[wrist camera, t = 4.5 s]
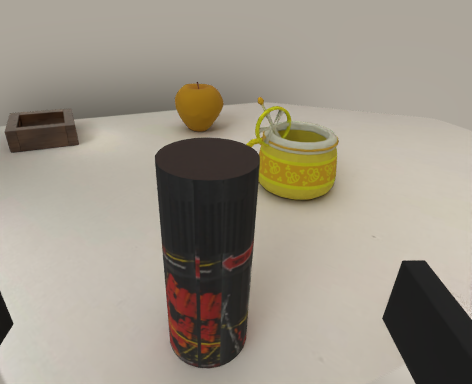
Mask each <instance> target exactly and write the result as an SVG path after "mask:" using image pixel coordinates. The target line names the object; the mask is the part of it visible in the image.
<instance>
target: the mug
mask: <svg viewBox="0 0 472 384" xmlns="http://www.w3.org/2000/svg"><path fill="white" fill-rule="evenodd" d="M263 102H264V100H263V99H262V98H261V97H260V98H258V103H259V104H260V105H262V107H263V110H264V112H263V114H262V115H261V116H260V117H259V119H258V121H257V124H256V129H255V133H256V137H257V138H256V139H252V140H250V141H249V142H248V143H247V144H246V145H248V146H250V147H252V146H253V145H254V144H258V143H259V144H260V145H261V148H260V152H259V156H260V168H259V180H258V181H259V183H260V184H261V185H262V186H263V187H264V188H265V189H266V190H267V191H269V192H271V193H273V194H276V195H278V196H280V197H284V198H290V199H312V198H316V197H319V196H322V195H324V194H326V193H327V192H328V191H329V190H330V189H331V187H332V186H333V184H334V181H335V177H336V165H337V149H336V146H337V145H338V142H339V141H338V137H337V136H336V135H335V134H334V133H333V131H331V130H329V129H328V128H325V127H323V126H320V125H318V124H313V123H308V122H299V121H291V117H290V114H289V112H288V111H287V110H286V109H284V108H282V107H279V106H275V107H271V108H269V109H267V110H266V109H265V107H264V104H263ZM277 109H278V110H279V112H278V115H277V117H276V119H275V122H276V120H277V118H278V117H279V118H278V121H279V119H280V118H281V116H282V114H283V113H284V112H285V114H286V116H287V121H286V122H280V123H278V121H277V123H275V122H274V123H275V124H273V122H272V119H271V117H270V114H269V113H270V112H271V111H273V110H277ZM279 115H280V116H279ZM265 116H266V117H267V119H268V121H269V123H270V126H269V127H263V128H260V124H261V122H262V120H263V118H264V117H265ZM263 131H264V132H263ZM260 132H263V137H262V138H260V135H259V133H260Z"/></svg>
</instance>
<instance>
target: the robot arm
mask: <svg viewBox="0 0 472 384" xmlns="http://www.w3.org/2000/svg"><path fill="white" fill-rule="evenodd" d="M382 319H383V321H384V323H385V325H386V327H387V329H388V331H389V333H390V335H391V337H392V338H393V340H394V342H395V344H396V346H397V348H398V350H399V352H400V354H401V356H402V358H403V360H404V362H405V364H406V366H407V368H408V370H409V372H410V374H411V376H412V378H413V379H414V381H415V383H416V384H472V320H471V318H470V317H469V316H468V315H467V313H466V312H465V311H464V309H463V308H462V307H461V306H460V304H459V303H458V302H457V301H456V299H455V298H454V297H453V295H452V294H451V293H450V292H449V290H448V289H447V288H446V287H445V285H444V284H443V283H442V282H441V280H440V279H439V278H438V276H437V275H436V274H435V273H434V271H433V270H432V269H431V268H430V266H429V265H428V264H427V262H426V261H402V263H401V266H400V269H399V272H398V275H397V278H396V281H395V284H394V286H393V289H392V292H391V295H390V298H389V301H388V304H387V307H386V309H385V312H384V315H383V318H382ZM12 326H13V321H12V319H11V316H10V314H9V312H8V309H7V307H6V304H5V302H4V299H3V297H2V295H1V292H0V345H1V343H2V342H3V340H4V338H5V337H6V335H7V334H8V332H9V330H10V329H11V327H12Z"/></svg>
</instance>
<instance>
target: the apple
mask: <svg viewBox="0 0 472 384" xmlns="http://www.w3.org/2000/svg"><path fill="white" fill-rule="evenodd" d="M175 104H176V109H177V111H178V113H179V116H180V117H181V119H182V120H183V122H184V123H185V124H186V126H187V127H188V128H189V129H191V130H193V131H206V130H207V129H208V128H210V127H211V125H212V124H213V123H214V121H215V120H216V119H217V117H218V116H219V114H220V112H221V110H222V107H223V99H222V97H221V95H220V93H219V92H218V91H217V89H216V88H214V87H213V86H211V85H206V84H198V82H197V84H186V85H184V86H183V87H182V88H181V89H180V90H179V91H178V92H177V95H176V97H175Z"/></svg>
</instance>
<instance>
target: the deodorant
mask: <svg viewBox="0 0 472 384" xmlns="http://www.w3.org/2000/svg"><path fill="white" fill-rule="evenodd" d="M155 166H156V177H157V189H158V201H159V213H160V225H161V237H162V249H163V261H164V273H165V285H166V296H167V308H168V320H169V332H170V343H171V346H172V348H173V351H174V352H175V353H176V355H177V356H178V357H179V358H180V359H181V360H183V361H184V362H186V363H187V364H190V365H192V366H195V367H200V368H212V367H218V366H221V365H224V364H226V363H228V362H230V361H231V360H232V359H234V358H235V357H236V356H237V355H238V354H239V353H240V351H241V350H242V348H243V346H244V343H245V340H246V331H247V318H248V306H249V293H250V281H251V268H252V256H253V243H254V230H255V218H256V205H257V193H258V180H259V168H260V156H259V154H258V153H257V151H255V150H254V149H253V148H251V147H250V146H248V145H245V144H243V143H240V142H237V141H233V140H228V139H221V138H193V139H186V140H181V141H177V142H173V143H171V144H169V145H166V146H164V147H163V148H162V149H160V150H159V151H158V152H157V154H156V155H155Z"/></svg>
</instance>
